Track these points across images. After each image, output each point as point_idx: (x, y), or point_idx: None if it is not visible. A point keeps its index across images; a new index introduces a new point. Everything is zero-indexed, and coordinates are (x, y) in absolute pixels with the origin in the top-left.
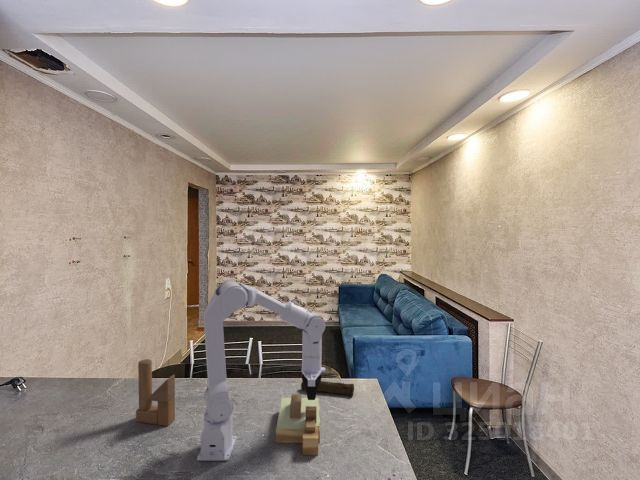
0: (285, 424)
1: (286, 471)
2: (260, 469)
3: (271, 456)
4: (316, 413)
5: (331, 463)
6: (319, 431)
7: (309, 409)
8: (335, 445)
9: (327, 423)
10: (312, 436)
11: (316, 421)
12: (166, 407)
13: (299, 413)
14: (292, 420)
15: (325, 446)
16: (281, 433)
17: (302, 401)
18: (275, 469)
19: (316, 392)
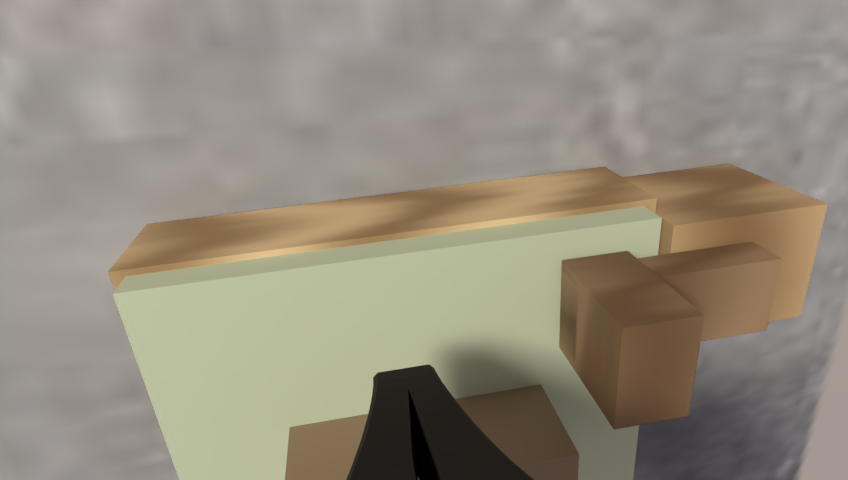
0: (620, 459)
1: (823, 313)
2: (783, 425)
3: (700, 408)
4: (456, 269)
5: (821, 64)
6: (653, 198)
7: (679, 385)
8: (641, 40)
9: (342, 127)
10: (794, 252)
11: (590, 250)
12: None
13: (557, 421)
14: (569, 430)
15: (646, 120)
16: None
17: (243, 427)
18: (797, 365)
19: (467, 419)
